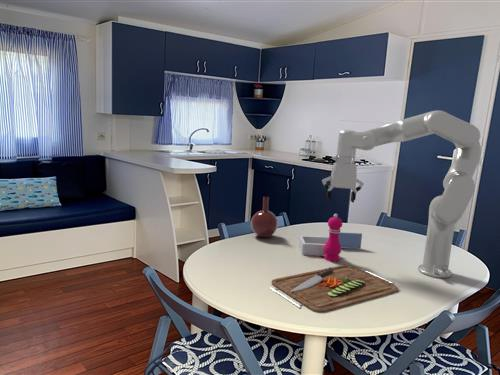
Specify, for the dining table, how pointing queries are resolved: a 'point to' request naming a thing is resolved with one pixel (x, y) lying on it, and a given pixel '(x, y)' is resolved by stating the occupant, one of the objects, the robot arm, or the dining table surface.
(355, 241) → the panel
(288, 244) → the dining table surface
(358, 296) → the chopping board
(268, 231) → the round-bottom flask
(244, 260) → the dining table surface
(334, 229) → the pepper mill
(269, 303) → the dining table surface
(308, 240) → the grey open box
